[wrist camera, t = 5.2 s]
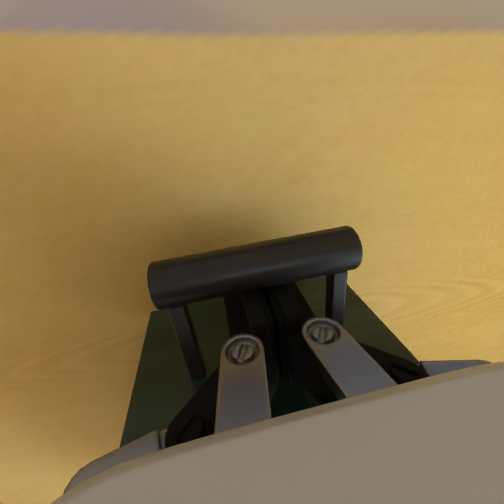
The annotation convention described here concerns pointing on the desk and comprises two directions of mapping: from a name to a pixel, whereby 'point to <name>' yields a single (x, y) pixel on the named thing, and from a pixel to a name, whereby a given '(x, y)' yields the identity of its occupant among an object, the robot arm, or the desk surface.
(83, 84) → the desk surface
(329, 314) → the drawer
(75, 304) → the desk surface
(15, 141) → the desk surface
